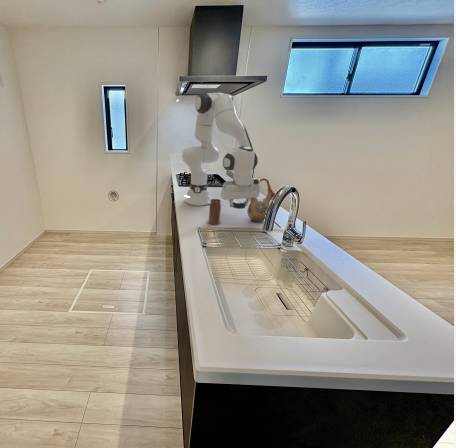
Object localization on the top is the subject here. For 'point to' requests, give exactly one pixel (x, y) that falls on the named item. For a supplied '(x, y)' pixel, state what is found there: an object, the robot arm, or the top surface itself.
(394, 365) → the top surface
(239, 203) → the jar lid
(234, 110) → the robot arm
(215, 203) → the coffee jar
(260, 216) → the ceramic vessel
